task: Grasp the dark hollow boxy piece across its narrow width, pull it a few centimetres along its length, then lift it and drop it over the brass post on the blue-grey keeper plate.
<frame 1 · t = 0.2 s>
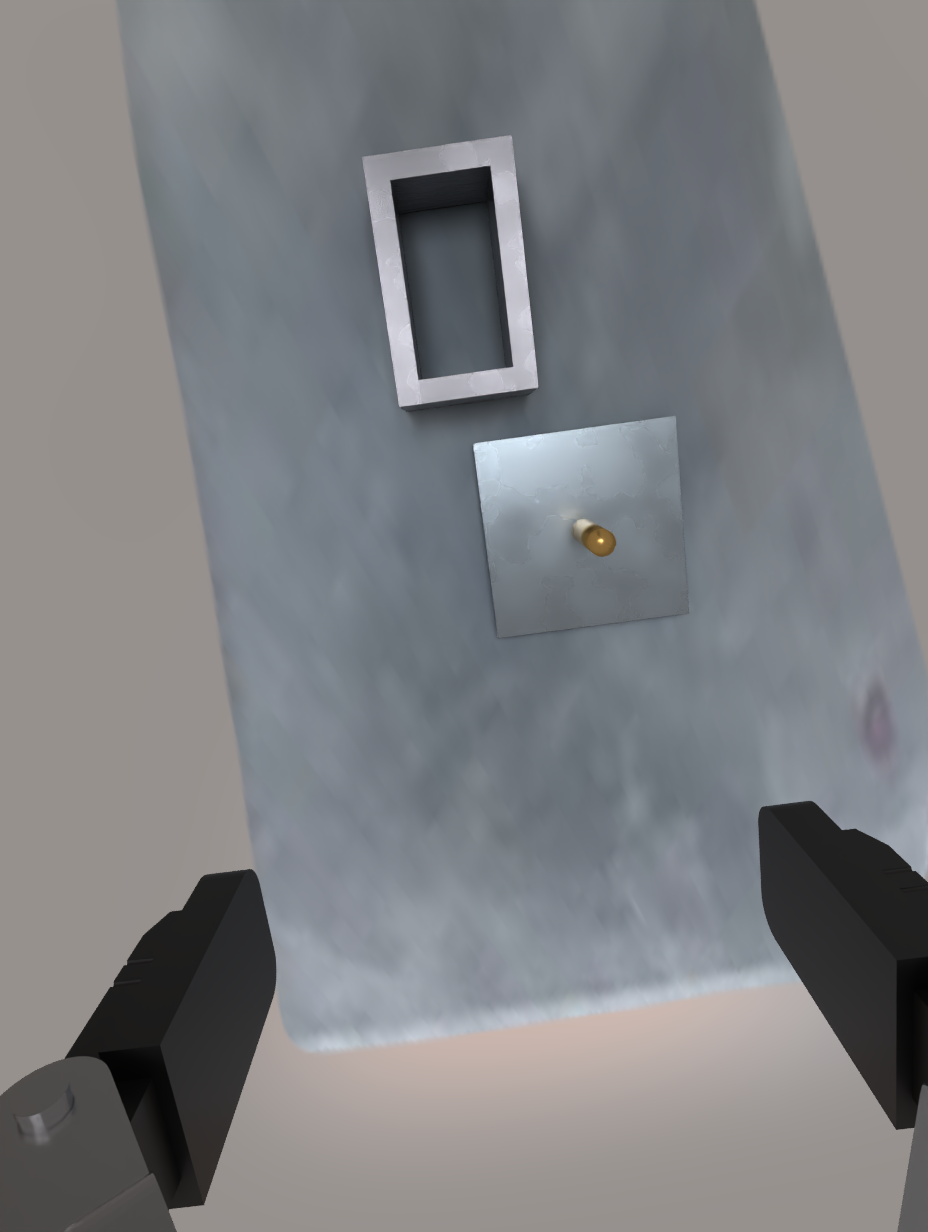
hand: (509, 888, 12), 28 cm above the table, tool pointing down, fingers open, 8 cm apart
keeper plate: (580, 528, 38), on the table
dark hollow boxy piece: (454, 297, 36), on the table
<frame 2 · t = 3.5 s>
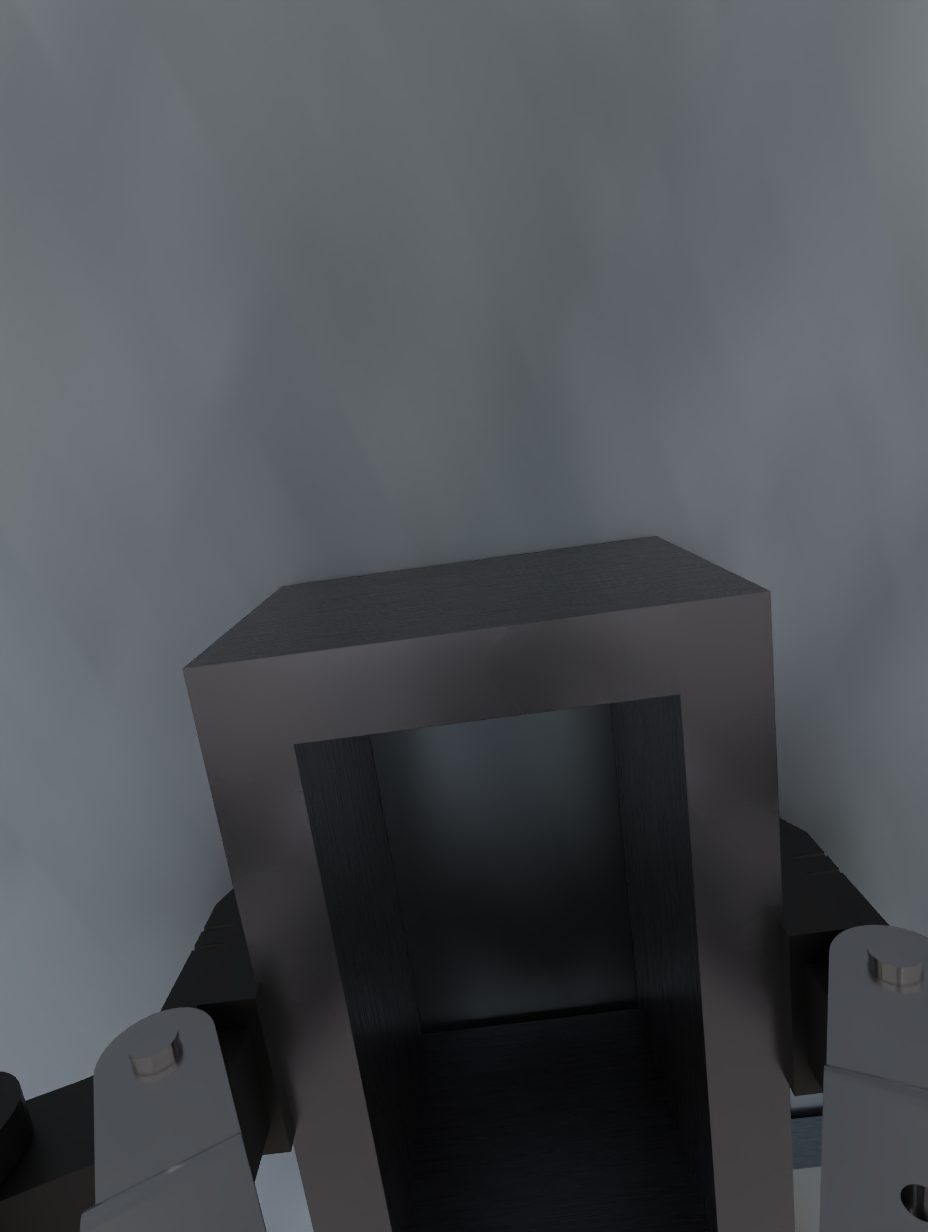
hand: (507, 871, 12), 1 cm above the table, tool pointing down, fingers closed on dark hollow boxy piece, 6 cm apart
dark hollow boxy piece: (504, 834, 13), on the table, touching gripper
when the fingers open (3 cm above the table, at t = 10.3 s): dark hollow boxy piece stays where it is, resting on keeper plate.
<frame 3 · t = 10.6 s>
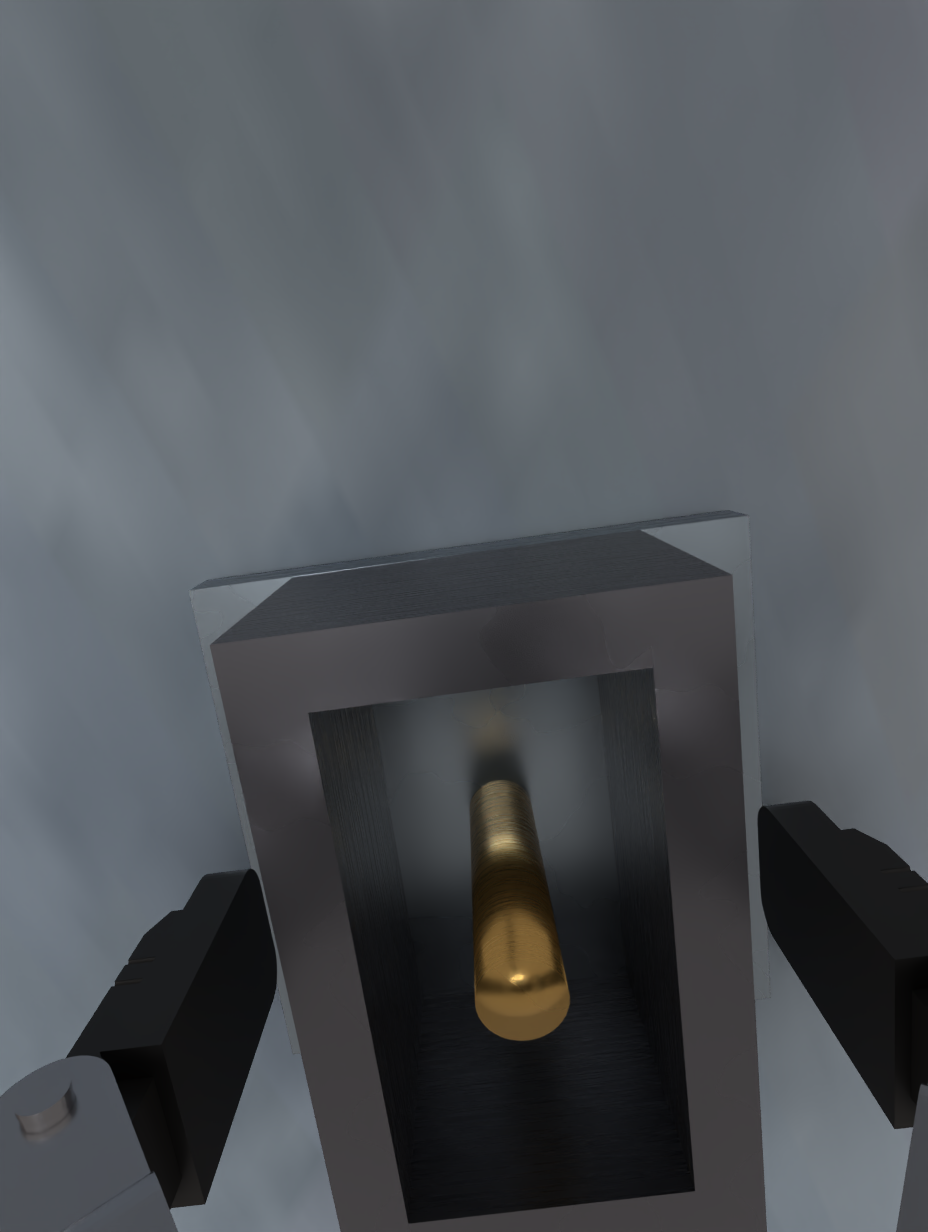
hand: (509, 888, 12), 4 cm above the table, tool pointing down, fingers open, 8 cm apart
keeper plate: (497, 785, 15), on the table
dark hollow boxy piece: (500, 809, 14), point 1 cm above the table, touching keeper plate
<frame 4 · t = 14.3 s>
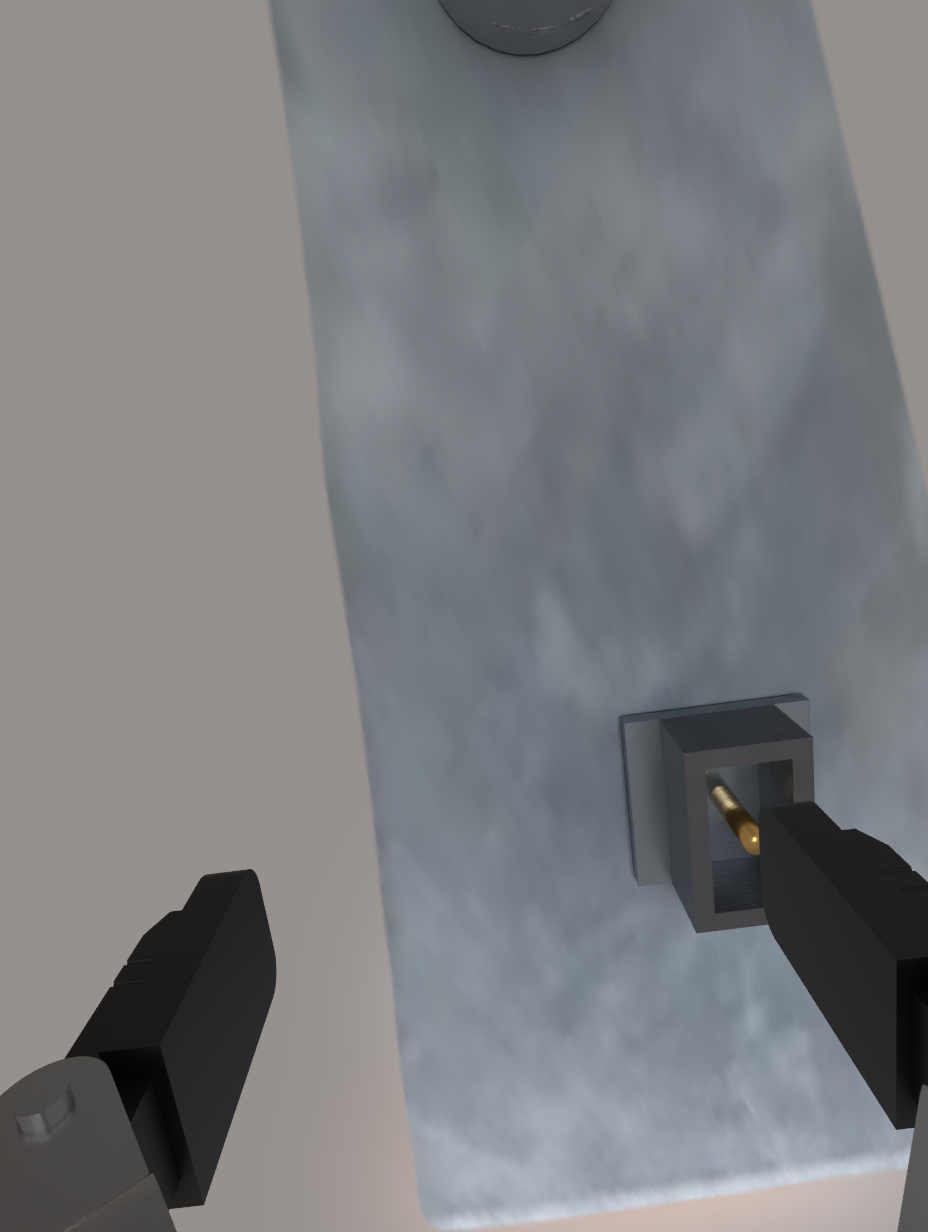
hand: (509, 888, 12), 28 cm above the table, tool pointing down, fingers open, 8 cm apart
keeper plate: (715, 787, 42), on the table
dark hollow boxy piece: (721, 795, 41), point 1 cm above the table, touching keeper plate
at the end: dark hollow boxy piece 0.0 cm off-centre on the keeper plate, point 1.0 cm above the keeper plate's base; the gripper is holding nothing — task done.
